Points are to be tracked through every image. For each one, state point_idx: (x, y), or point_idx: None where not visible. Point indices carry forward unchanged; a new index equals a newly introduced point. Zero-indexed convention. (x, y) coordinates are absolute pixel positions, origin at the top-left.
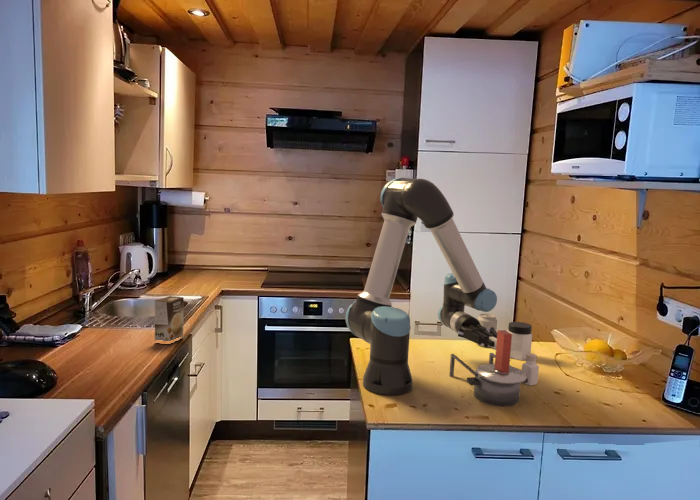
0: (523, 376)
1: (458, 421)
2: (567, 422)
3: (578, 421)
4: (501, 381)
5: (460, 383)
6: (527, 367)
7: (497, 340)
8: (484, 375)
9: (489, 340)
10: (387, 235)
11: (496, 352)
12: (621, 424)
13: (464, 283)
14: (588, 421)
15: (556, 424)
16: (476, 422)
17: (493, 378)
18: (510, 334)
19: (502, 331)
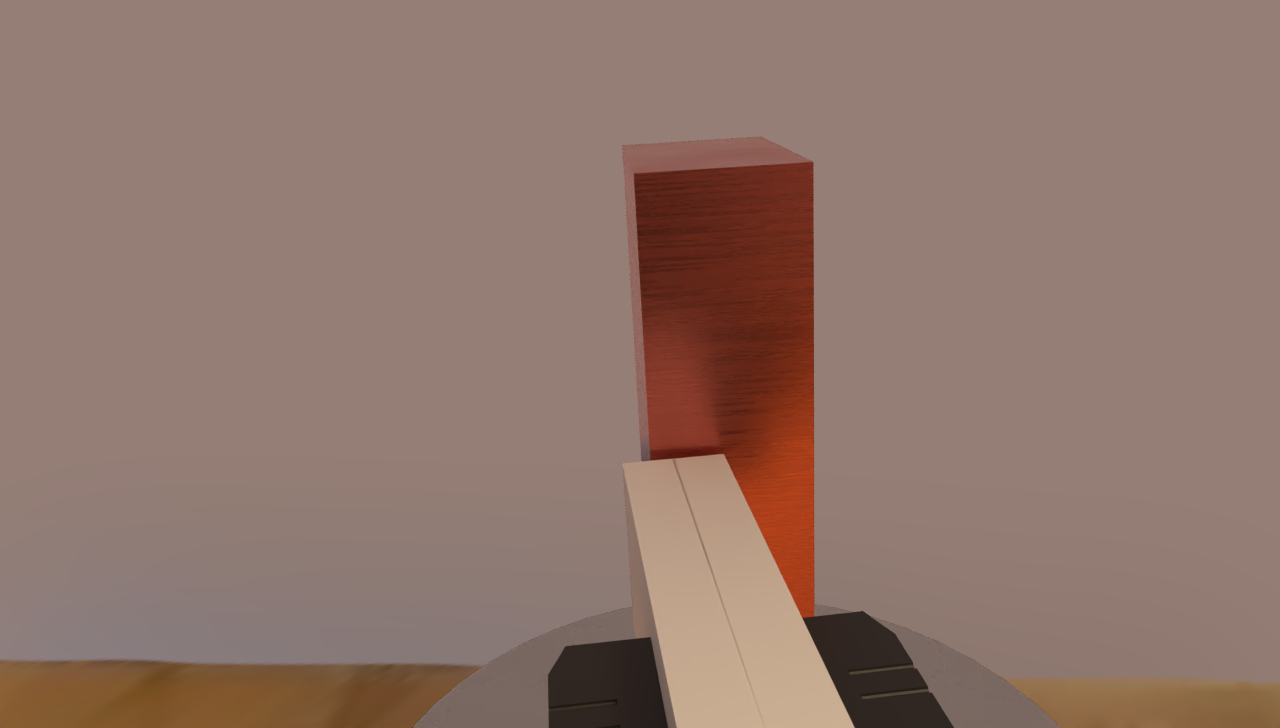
0: (488, 692)
1: (1211, 700)
2: (359, 693)
3: (263, 704)
4: (820, 612)
5: None
6: None
7: (806, 360)
8: (1010, 704)
9: (892, 705)
10: None
11: (808, 579)
12: (9, 676)
13: None
14: (189, 704)
15: (463, 673)
16: (1061, 690)
17: (902, 641)
18: (650, 146)
19: (731, 155)
